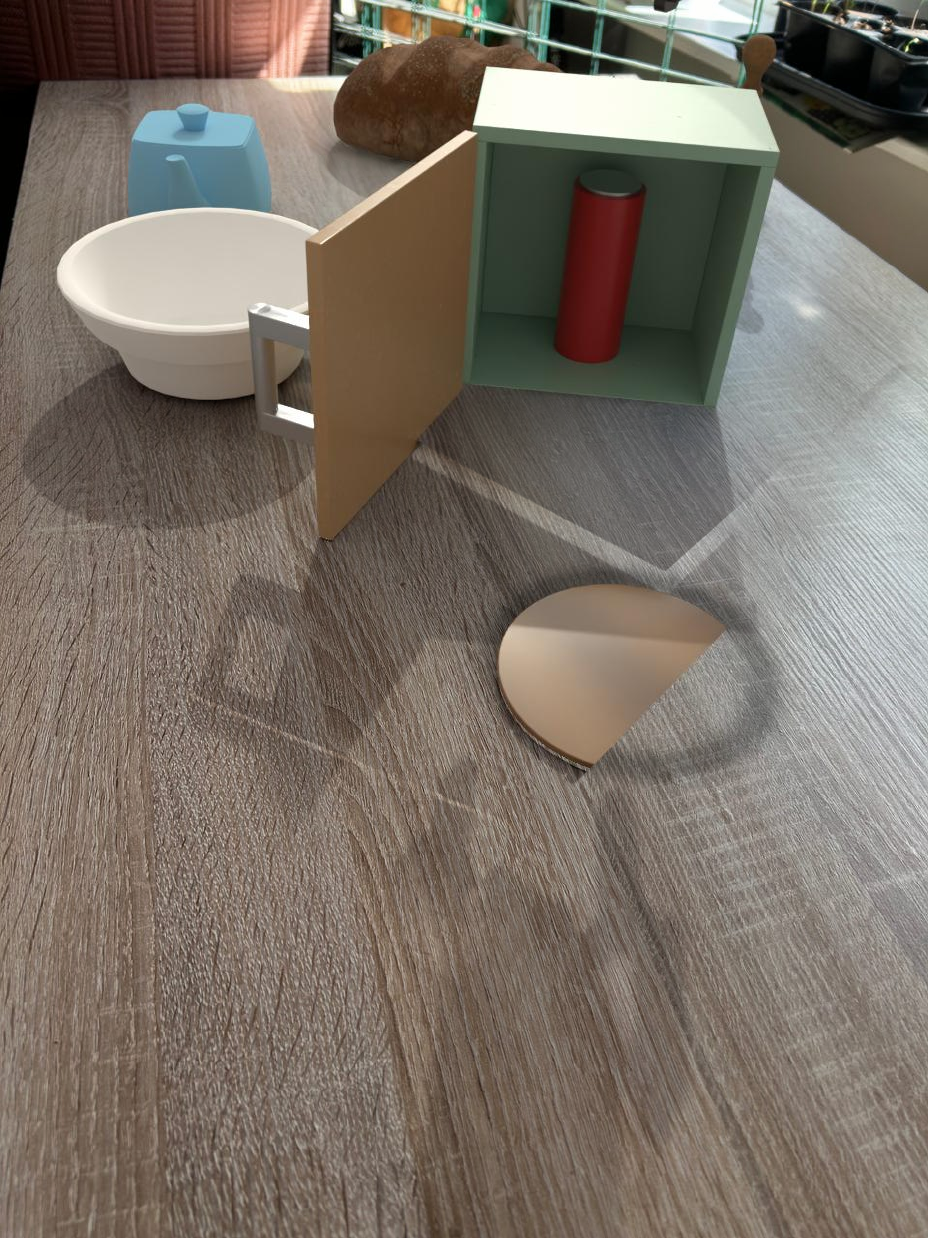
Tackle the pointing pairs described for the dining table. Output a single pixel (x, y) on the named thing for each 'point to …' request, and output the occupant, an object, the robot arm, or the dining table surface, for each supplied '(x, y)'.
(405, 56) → the bread
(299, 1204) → the dining table surface
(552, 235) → the green cabinet
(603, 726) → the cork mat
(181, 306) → the bowl
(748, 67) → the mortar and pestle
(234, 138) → the teapot
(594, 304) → the can
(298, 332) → the wooden cabinet door
